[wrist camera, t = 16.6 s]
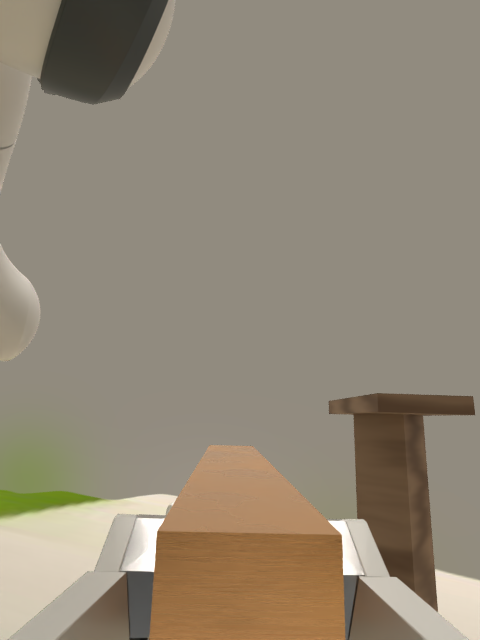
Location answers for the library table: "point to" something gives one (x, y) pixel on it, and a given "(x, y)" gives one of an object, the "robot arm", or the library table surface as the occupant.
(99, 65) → the robot arm
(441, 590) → the library table surface
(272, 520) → the block
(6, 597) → the library table surface
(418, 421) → the post
